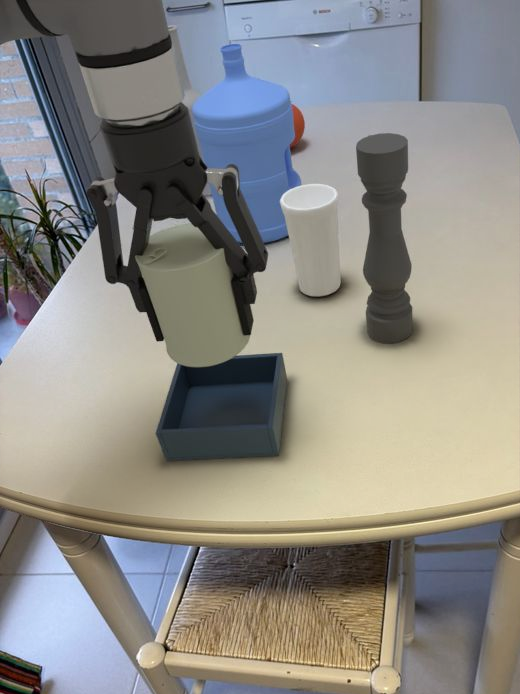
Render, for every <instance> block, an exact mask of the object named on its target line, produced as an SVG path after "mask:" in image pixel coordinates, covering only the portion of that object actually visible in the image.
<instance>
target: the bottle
mask: <svg viewBox="0 0 520 694" xmlns="http://www.w3.org/2000/svg"><path fill="white" fill-rule="evenodd" d="M167 26H168V30H169V34H170V36H171V41H172V44H173V47H174V51H175V56H176V60H177V64H178V68H179V73H180V77H181V81H182V86H183V90H184V94H185V96H184V98H183V100H182V103H183V104H184V105H185V106H187V108H188V110H189V114H190V118H191V122H192V127H193V131H194V135H195V139H196V143H197V147H198V152H199V155H200V158H201V159H202V161H203V162H204V159H203V155H202V151H201V146H200V142H199V138H198V136H197V133H196V129H195V125H194V116H193V112H192V107H193V104H194V102H195V101H196V100H197V99H198V98H199V97H201V96H202V95H201V94H200V93H199V92H197V90H195V89H194V87H192V84H191V81H190V77H189V74H188V70H187V67H186V62H185V59H184V55H183V50H182V47H181V43H180V38H179V33H178V29H179V28H178V26H177V25H173V24H172V25H167ZM202 194H203V195H204V196H205V197H206V196H212V193H211V189H210V187H209V184H208V183H207V184H206V186H205V188H204V190H203V193H202Z"/></svg>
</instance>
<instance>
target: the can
mask: <svg viewBox="0 0 520 694" xmlns="http://www.w3.org/2000/svg"><path fill="white" fill-rule="evenodd" d="M135 258H136V261H137V263H138V265H139V268H140V270H141V273H142V276H143V278H144V281H145V284H146V287H147V290H148V293H149V295H150V298H151V301H152V304H153V307H154V310H155V313H156V316H157V319H158V322H159V325H160V328H161V331H162V334H163V337H164V343H165V351H166V353H167V355H168V357H169V358H170V359H171V360H172V361H173V362H174V363H176V364H177V363H178V364H181V365H184V366H188V367H207V366H213V365H217V364H220V363H223V362H225V361H227V360H229V359H231V358H233V357H234V356H238V355H240V354H241V352H242V351H243V350H244V349H245V348H246V346H247V345H248V344H249V342H250V338H251V335H245V336H244V334H243V330H242V326H241V322H240V317H239V313H238V309H237V305H236V301H235V296H234V292H233V288H232V284H231V281H232V278H233V275H234V271H233V270H232V269H231V268H230V266H229V265H228V264H227V263H226V260H225V255H224V249H223V248H221V249H215V248H214V247H213V246H212V244H211V243H210V242H209V241H208V239H207V238H206V237H205V236H204V235H203V233H202V232H201V231H200V230H199V228H197V227H194V226H193V225H192V224H191V223H184V224H183V223H182V224H178V225H173V226H170V227H167V228H164V229H161V230H159V231H157V232H154V233H152V234H150V236H149V242H148V245H147V247H146V249H145V251H144V254H143V256H138V255H136V256H135Z"/></svg>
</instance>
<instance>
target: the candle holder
mask: <svg viewBox="0 0 520 694" xmlns="http://www.w3.org/2000/svg"><path fill="white" fill-rule="evenodd" d="M355 152H356V163H357V164H356V167H357V175H358V177H359V179H360V182H361V184H362V185H363V186H364V189H365V191H366V192H364V193H363V194H362V196H361V203H362V205H363V207H364V208H366V210H367V213H368V227H369V232H368V239H367V244H366V251H365V256H364V260H363V266H362V274H363V277H364V279H365V282H366V284H368V286H369V287H370V290H371V292H370V294H369V295H368V296H367V299H366V309H365V320H366V321H365V322H366V334H367V335H368V337H369V338H370V339H371V340H373V341H374V342H377V343H381V344H395V343H401V342H403V341H404V340H407V339H408V338H409V337H410V336H411V335H412V333H413V328H414V326H413V325H414V322H413V318H414V317H413V316H414V315H413V306H412V304H411V296H410V295H409V293H408V292H407V291H406V290H405V289H406V284H407V283H408V281H409V280H410V279H411V278H410V277H411V274H412V268H413V267H412V261H411V259H410V253H409V251H408V246H407V244H406V238H405V235H404V233H403V229H402V226H403V225H402V208H403V206H404V205H405V203H407V198H408V195H407V192H406V191H405V190H404V189H403V188H402V187H403V184H404V182H405V180H406V177H407V174H408V172H409V140H408V138H407V137H406V136H404V135H401V134H399V133H393V132H392V133H391V132H386V133H385V132H384V133H376V134H370V135H368V136H364V137H362V138H361V139H360V140H358V141H357V142H356V145H355Z"/></svg>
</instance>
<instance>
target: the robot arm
mask: <svg viewBox="0 0 520 694" xmlns="http://www.w3.org/2000/svg"><path fill="white" fill-rule="evenodd" d="M168 26H169V25H168V22H167V17H166V13H165V8H164V3H163V0H0V46H1V45H3V44H6V43H9V42H14V41H18V40H27V39H35V38H45V37H60V36H64V35H67V36H68V39H69V41H70V43H71V46H72V48H73V50H74V53H75V56H76V60H77V62H78V65H79V68H80V71H81V74H82V78H83V81H84V84H85V87H86V90H87V93H88V96H89V99H90V102H91V105H92V108H93V111H94V114H95V116H97V117H98V118H99V119H101V123H100V125H99V128H100V132H101V135H102V138H103V141H104V144H105V146H106V149H107V153H108V156H109V158H110V163H111V164H112V166H113V168H114V177H112V178H107V179H105V178H104V177H102V176H97V177H95V179H94V180H93V181H92V182H91V184H90V186H89V187H88V189H87V190H86V196H87V199H88V200H89V203H90V205H91V206H92V209H93V210H94V212H95V217H96V223H97V230H98V237H99V243H100V250H101V257H102V264H103V272H104V278H105V281H106V282H107V283H108V284H111V285H116V284H117V283H119V284H123V285H125V286H126V287H127V288H128V289H129V292H130V295H131V297H132V301H133V303H134V306H135V308H136V310H137V312H139V313H146V317H147V318H148V321H149V324H150V327H151V330H152V332H153V335H154V338H155V341H156V342H165V340H164V337H163V334H162V331H161V328H160V325H159V322H158V319H157V316H156V313H155V310H154V307H153V304H152V301H151V298H150V295H149V293H148V290H147V287H146V284H145V281H144V278H143V276H142V273H141V270H140V268H139V265H138V263H137V261H136V258H135V256H136V255H138V256H143V254H144V251H145V249H146V247H147V245H148V242H149V237H150V236H151V230H152V226H153V222H162V221H165V220H167V219H173V220H174V219H175V220H185V219H187V220H188V221H189V223H190V224H192V225H193V226H194V227H197V228H199V230H200V231H201V232H202V233H203V235H204V236H205V237H206V238H207V239H208V241H209V242H210V243H211V244H212V246H213V247H214V248H215V249H221V248H223V249H224V255H225V260H226V263H227V264H228V265H229V266H230V268H231V269H232V270H233V271H234V275H233V278H232V281H231V284H232V288H233V292H234V296H235V301H236V305H237V309H238V313H239V317H240V322H241V326H242V330H243V334H244V336H245V335H250V336H251V335H252V330H253V327H254V320H255V319H254V315H253V310H252V306H251V305H255V303H256V301H257V300H256V299H257V294H258V288H257V285H256V280H255V275H254V274H256V273H263V272H265V271H266V269H267V265H268V259H269V252H268V249H267V248H266V245H265V243H264V242H263V240H262V238H261V236H260V233H259V231H258V229H257V226H256V224H255V222H254V220H253V217H252V215H251V213H250V210H249V208H248V206H247V203H246V201H245V199H244V197H243V194H242V192H241V190H240V180H239V169H238V167H237V166H236V165H234V164H229V165H227V167H226V169H217V168H208V167H207V166H206V165H205V163H204V162H203V161H202V159H201V158H200V155H199V152H198V147H197V143H196V139H195V135H194V131H193V127H192V122H191V118H190V114H189V110H188V108H187V106H185V105H184V104H183V103H182V100H183V98H184V96H185V94H184V90H183V86H182V81H181V77H180V73H179V68H178V64H177V60H176V56H175V51H174V47H173V44H172V41H171V36H170V34H169V30H168ZM207 183H209V184H212V185H213V186H214V188H215V190H216V192H217V193H218V195H223V199H224V203H225V206H226V208H227V211H228V213H229V215H230V217H231V219H232V222H233V224H234V226H235V228H236V230H237V232H238V235H239V237H240V239H241V241H242V243H241V244H242V246H243V247H242V246H241V244H240V243H239V242H237V241H236V239H235V238H234V237H233V236H232V234H231V233H230V232H229V230H228V229H227V228H226V227H225V225H224V224H223V223H222V222H221V220H220V219H219V218H218V216H217V214H216V212H215V211H214V210H213V208H212V205H211V203H210V201H209V200H208V199H207V198H206V196H204V195H203V194H202V193H203V190H204V188H205V186H206V184H207ZM118 193H119V194H120V195H121V196H122V197H123V198H124V199H126V200H127V201H128V202H129V203H130V204H131V205H133V207H135V215H134V219H133V230H132V231H133V232H132V238H131V244H130V250H129V255H128V262H127V265H125V264H124V258H123V249H122V241H121V232H120V231H121V230H120V225H119V223H120V222H119V217H118V207H117V203H116V202H117V201H118V199H119V195H118Z"/></svg>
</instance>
